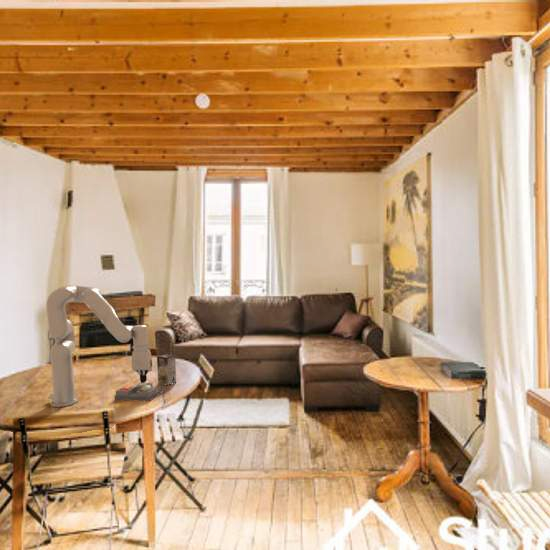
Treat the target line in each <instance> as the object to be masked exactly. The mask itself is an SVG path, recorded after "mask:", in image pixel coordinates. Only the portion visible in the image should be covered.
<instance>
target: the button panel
mask: <svg viewBox="0 0 550 550" xmlns="http://www.w3.org/2000/svg"><path fill="white" fill-rule="evenodd" d="M148 385H151V390H150V391H142V389H141V387H142V386H139V385H138V384H136V385H134V386H130V387H131V389H129V390H128V391H122V390H121V388H122V387H127V386H128V385H126V386H122V387H120V388H118V389H116V390H115V395H114V400H116V401H134V400H145V401H144V402H151V401H153V400H154V399H155V398H157V397H158V396H159V395H161V394H162V393H163V392H162V391H164V392H165V387H157V386H156V387H155V386H154V385H153V382H148ZM161 392H162V393H161ZM160 393H161V394H160ZM158 394H159V395H158ZM157 395H158V396H157ZM156 396H157V397H156ZM153 398H154V399H153ZM150 400H151V401H150Z"/></svg>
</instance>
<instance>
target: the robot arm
mask: <svg viewBox="0 0 550 550" xmlns="http://www.w3.org/2000/svg"><path fill="white" fill-rule="evenodd" d="M71 302H75V303H76V302H77V303H84V304H85V306H86V307H87V308H89V310H90V311H91V312H92V313H93V314H94V315H95V316H96V317H97V318H98V319H99V320H100V322H101V324H102V325H103V326H104V327H105V329H106V330H107V331H108V332H109V333H110V334H111V335H112V336H113V337H114V339H116V340H117V341H118V342H120V343H128V342H129V341H130V340H131V339H132V341H133V343H132V344H133V345H132V346H131V349H133V350H132V354H131V369H132V371H133V372H136V373H137V374H138V375H139V382H140V381H141V383H144V382H146V381H148V380H147V374H148V373H149V372H153V357H152V352H151V350H150V349H149V348H150V346H149V334H148V326H147V325H145V324H137V325H125V324H124V323H123V322H122V321H121V320H120V318H119V317H118V315H117V313H116V311H115V309H114V308H113V306H112V305H111V304H110V303H109V302H108V301H107V299H105V298H104V297H103V295H102V292H101V290H100V289H98V288H97V287H93V286H92V287H91V286H82V285H74V284H73V285H64V286H61V287H59V288H57V289H54V290H53V291H52V292H51V293H50V294H49V296H48V297H47V300H46V315H47V323H48V332H49V336H50V337H51V339H54V342H55V343H54V344H53V345H52V346H51V348H50V351H49V360H50V364H51V374H52V389H53V390H52V391H53V393H50V394H49V396H48V400H52V401H51V402H50V406H51V407H52V408H53V407H54V408H60V407H61V408H62V407H68V406H71V405H74V404H77V402H78V401H79V397H78V396H76V395H75V393H76V391H75V389H76V388H75V377H74V376H75V375H74V364H73V357H72V355H73V354H74V353H75V350H76V339H75V337H76V336H75V329H74V324H73V323H72V321H71V320H69V319H68V316H67V315H68V314H67V309H66V306H67V304H69V303H71Z"/></svg>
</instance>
